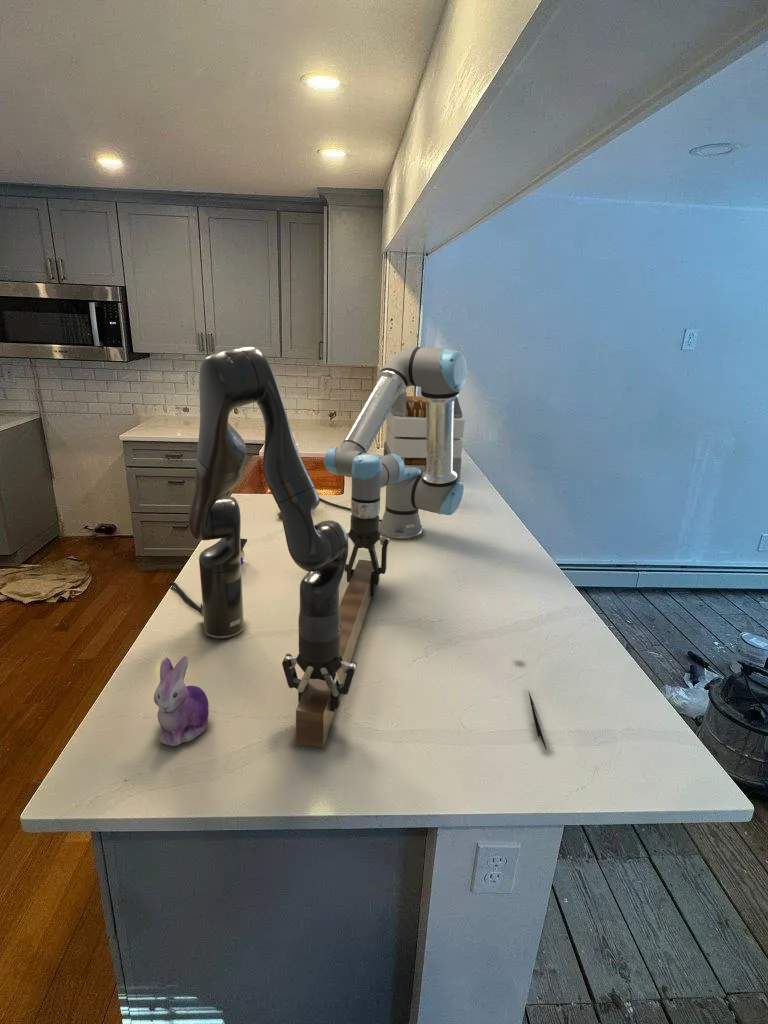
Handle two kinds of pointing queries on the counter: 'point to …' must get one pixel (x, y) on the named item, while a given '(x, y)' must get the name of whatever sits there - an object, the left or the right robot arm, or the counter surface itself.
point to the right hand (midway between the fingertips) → (362, 593)
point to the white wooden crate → (417, 432)
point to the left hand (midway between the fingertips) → (319, 706)
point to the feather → (536, 721)
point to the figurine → (179, 705)
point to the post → (317, 695)
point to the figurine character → (242, 544)
